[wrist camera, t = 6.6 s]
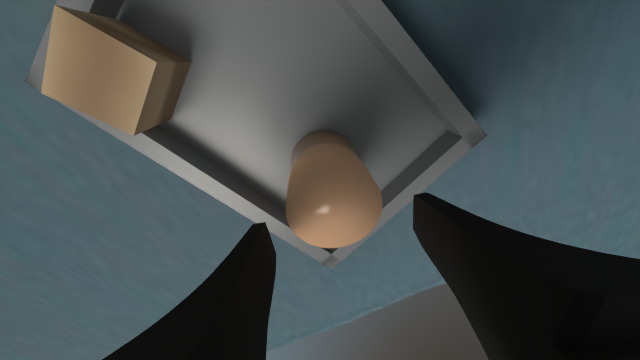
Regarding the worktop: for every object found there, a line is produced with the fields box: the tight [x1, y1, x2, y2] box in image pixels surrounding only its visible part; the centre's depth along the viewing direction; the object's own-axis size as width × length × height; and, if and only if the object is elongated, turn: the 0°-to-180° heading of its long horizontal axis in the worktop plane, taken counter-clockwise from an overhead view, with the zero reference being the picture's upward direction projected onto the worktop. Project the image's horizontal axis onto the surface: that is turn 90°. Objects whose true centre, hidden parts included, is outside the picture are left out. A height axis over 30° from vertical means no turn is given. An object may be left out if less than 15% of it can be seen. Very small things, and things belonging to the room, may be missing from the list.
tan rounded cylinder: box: [285, 131, 382, 248], centre depth 15 cm, size 5×5×6 cm
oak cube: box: [41, 5, 192, 136], centre depth 13 cm, size 4×4×4 cm
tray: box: [25, 0, 487, 269], centre depth 15 cm, size 22×15×2 cm
